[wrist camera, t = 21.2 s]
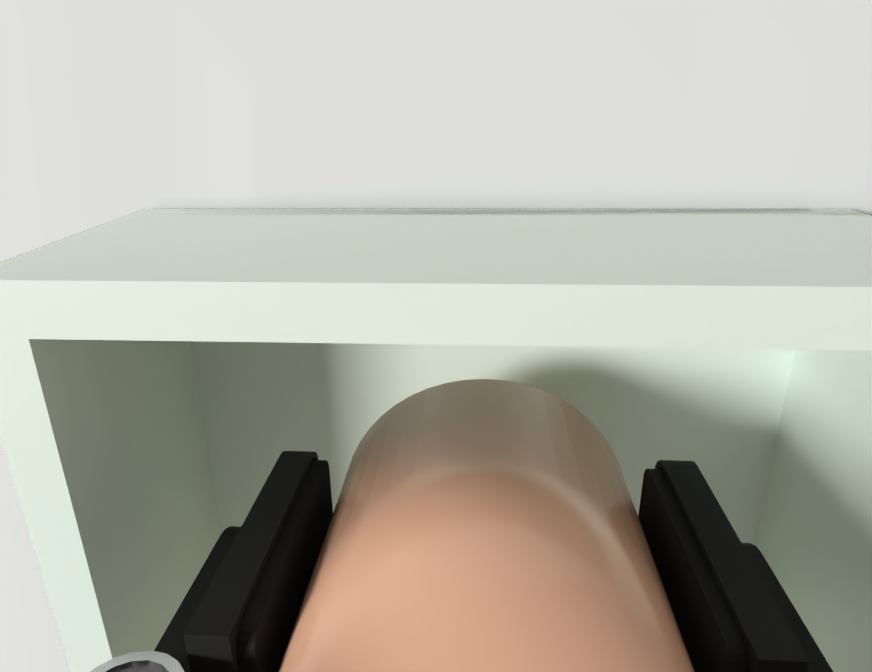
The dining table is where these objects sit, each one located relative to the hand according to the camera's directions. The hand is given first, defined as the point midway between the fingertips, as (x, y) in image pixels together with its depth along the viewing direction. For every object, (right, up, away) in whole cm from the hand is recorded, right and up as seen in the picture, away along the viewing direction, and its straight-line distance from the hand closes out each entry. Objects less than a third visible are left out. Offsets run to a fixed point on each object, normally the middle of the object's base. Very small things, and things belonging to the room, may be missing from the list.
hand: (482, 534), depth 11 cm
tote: (0, -2, +5) cm, 5 cm away
